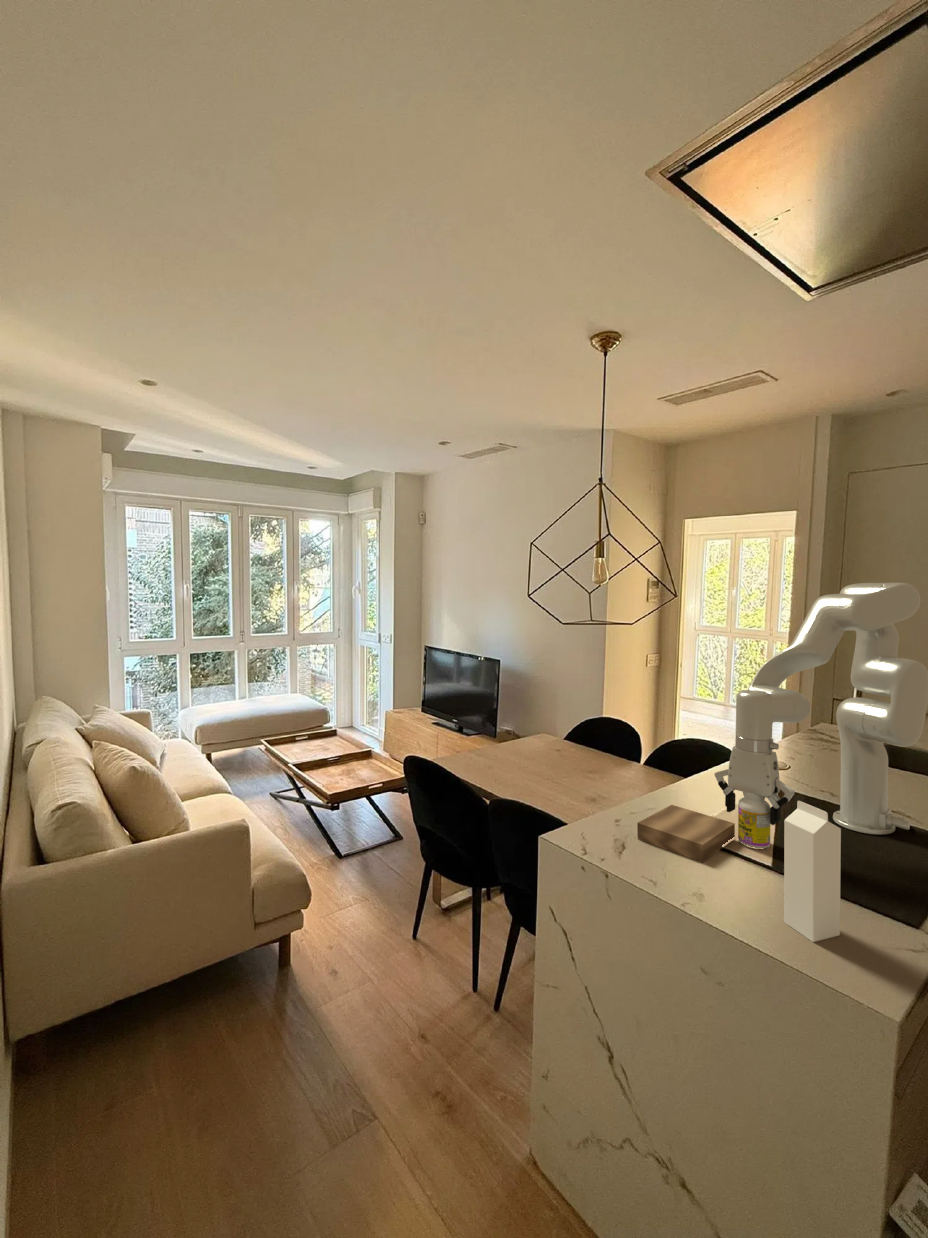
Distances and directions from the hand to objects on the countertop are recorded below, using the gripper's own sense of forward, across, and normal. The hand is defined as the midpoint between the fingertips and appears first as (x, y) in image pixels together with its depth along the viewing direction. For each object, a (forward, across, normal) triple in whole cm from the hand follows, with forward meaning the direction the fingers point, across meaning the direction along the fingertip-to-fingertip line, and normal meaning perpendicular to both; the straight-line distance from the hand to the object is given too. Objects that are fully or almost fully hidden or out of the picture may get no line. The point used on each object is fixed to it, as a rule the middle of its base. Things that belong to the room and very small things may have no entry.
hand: (751, 816), depth 129 cm
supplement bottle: (+7, 0, -1) cm, 7 cm away
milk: (+7, -20, +25) cm, 33 cm away
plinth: (+7, +12, +8) cm, 16 cm away
